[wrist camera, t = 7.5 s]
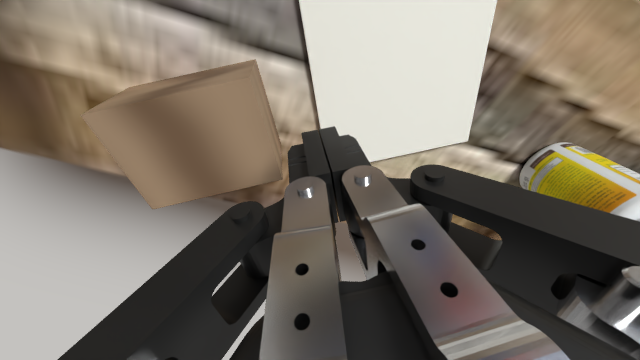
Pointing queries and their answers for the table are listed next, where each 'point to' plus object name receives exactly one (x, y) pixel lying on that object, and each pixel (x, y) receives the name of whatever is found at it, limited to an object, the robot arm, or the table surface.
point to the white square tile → (397, 69)
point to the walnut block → (192, 134)
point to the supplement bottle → (583, 179)
